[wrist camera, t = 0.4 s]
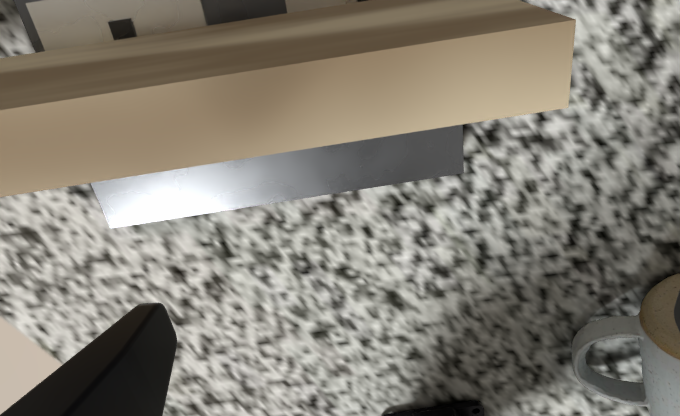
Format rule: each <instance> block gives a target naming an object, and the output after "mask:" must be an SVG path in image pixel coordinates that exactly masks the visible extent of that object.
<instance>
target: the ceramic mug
mask: <svg viewBox="0 0 680 416" xmlns="http://www.w3.org/2000/svg"><path fill="white" fill-rule="evenodd" d="M679 290H680V273H678V274H675V275H673V276H670V277H668V278H666V279H665V280H663V281H661V282H660V283H658V284H657V285H655V286H654V287H653V288H652V289H651V290H650V291H649V292H648V293H647V295H646V296H645V298H644V299H643V302H642V305H641V310H640V312H639V314H638V315H636V316H611V317H607V318H603V319H599V320H594V321H592V322H590V323H588V324H586V325H585V326H584V327H582V328H581V329H580V330H579V331H578V332H577V334H576V335H575V337H574V339H573V341H572V365H573V371H574V373H575V375H576V377H577V379H578V380H579V382H580V383H581V384H582V385H583V386H584V387H586V388H587V389H589V390H590V391H592V392H594V393H595V394H598V395H600V396H602V397H604V398H607V399H610V400H613V401H617V402H620V403H624V404H629V405H637V406H645V407H648V410H649V412H650V414H651V416H680V332H679V330H678V327H677V325H676V322H675V319H674V306H675V303H676V300H677V297H678V293H679ZM632 337H637V338H638V340H639V346H640V355H641V358H642V375H643V383H638V382H629V381H621V380H617V379H613V378H609V377H606V376H603V375H601V374H599V373H597V372H595V371H594V370H592V369H590V368H589V367H588V365H587V364H586V355H585V354H586V352H587V351H588V349H589V348H590V345H592V344H593V343H596V342H599V341H602V340H606V339H614V338H632Z"/></svg>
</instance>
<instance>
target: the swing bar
mask: <svg viewBox="0 0 680 416" xmlns="http://www.w3.org/2000/svg"><path fill="white" fill-rule="evenodd" d="M575 23H576V20H575V19H572V18H569V17H566V16H563V15H561V14H558V13H555V12H552V11H549V10H546V9H543V8H540V7H537V6H534V5H531V4H528V3H526V2H523V1H520V0H368V1H362V2H356V3H349V4H343V5H337V6H330V7H324V8H317V9H311V10H305V11H298V12H292V13H286V14H279V15H273V16H267V17H260V18H254V19H248V20H241V21H235V22H228V23H222V24H216V25H209V26H203V27H197V28H190V29H184V30H178V31H171V32H165V33H158V34H152V35H146V36H139V37H133V38H127V39H120V40H114V41H108V42H101V43H95V44H89V45H82V46H76V47H69V48H63V49H57V50H50V51H44V52H38V53H31V54H25V55H19V56H12V57H6V58H0V197H4V196H10V195H16V194H23V193H29V192H36V191H42V190H48V189H55V188H61V187H67V186H74V185H80V184H86V183H93V182H99V181H105V180H112V179H118V178H125V177H131V176H137V175H144V174H150V173H156V172H163V171H169V170H175V169H182V168H188V167H194V166H201V165H207V164H214V163H220V162H226V161H233V160H239V159H245V158H252V157H258V156H264V155H271V154H277V153H284V152H290V151H296V150H303V149H309V148H315V147H322V146H328V145H334V144H341V143H347V142H353V141H360V140H366V139H373V138H379V137H385V136H392V135H398V134H404V133H411V132H417V131H423V130H430V129H436V128H442V127H449V126H455V125H462V124H468V123H474V122H481V121H487V120H493V119H500V118H506V117H512V116H519V115H525V114H531V113H538V112H544V111H551V110H557V109H563V108H568V104H569V93H570V81H571V69H572V58H573V46H574V35H575Z"/></svg>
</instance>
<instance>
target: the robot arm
mask: <svg viewBox="0 0 680 416" xmlns="http://www.w3.org/2000/svg"><path fill="white" fill-rule="evenodd" d="M674 319H675V322H676V325H677V327H678V330H679V332H680V290H679V293H678V297H677V300H676V303H675V306H674ZM176 347H177V337H176V333H175V330H174V328H173V325H172V323H171V320H170V318H169V315H168V313H167V310H166V308H165V306H164V305H163V304H161V303H145V304H139V305H138V306H136V307H135V308H133V309H132V310H131V311H130V312H128V313H127V314H126V315H125V316H123V317H122V318H121V319H120V320H118V321H117V322H116V323H115V324H113V325H112V326H111V327H110V328H108V329H107V330H106V331H105V332H103V333H102V334H101V335H100V336H98V337H97V338H96V339H95V340H93V341H92V342H91V343H90V344H88V345H87V346H86V347H85V348H83V349H82V350H81V351H80V352H78V353H77V354H76V355H75V356H73V357H72V358H71V359H70V360H68V361H67V362H66V363H65V364H63V365H62V366H61V367H60V368H58V369H57V370H56V371H55V372H53V373H52V374H51V375H49V376H48V377H47V378H46V379H45V380H43V381H42V382H41V383H39V384H38V385H37V386H36V387H34V388H33V389H32V390H31V391H29V392H28V393H27V394H26V395H24V396H23V397H22V398H21V399H20V400H18V401H17V402H16V403H14V404H13V405H12V406H11V407H10V408H8V409H7V410H6V411H4V412H3V413H2V414H1V415H0V416H162V415H163V410H164V405H165V401H166V396H167V391H168V386H169V381H170V377H171V372H172V367H173V362H174V357H175V352H176ZM384 416H484V408H483V406H482V403H481V402H480V401H468V402H462V403H455V404H449V405H443V406H436V407H430V408H424V409H417V410H411V411H404V412H398V413H392V414H387V415H384Z"/></svg>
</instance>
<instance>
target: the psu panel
mask: <svg viewBox="0 0 680 416" xmlns="http://www.w3.org/2000/svg"><path fill="white" fill-rule="evenodd" d="M362 1H368V0H14V2H15V5H16V7H17V9H18V12H19V14H20V16H21V19H22V21H23V23H24V26H25V28H26V31H27V33H28V35H29V38H30V40H31V42H32V45H33V47H34V50H35V52H36V53H38V52H44V51H50V50H57V49H63V48H69V47H76V46H82V45H89V44H95V43H101V42H108V41H114V40H120V39H127V38H133V37H139V36H146V35H152V34H158V33H165V32H171V31H178V30H184V29H190V28H197V27H203V26H209V25H216V24H222V23H228V22H235V21H241V20H248V19H254V18H260V17H267V16H273V15H279V14H286V13H292V12H298V11H305V10H311V9H317V8H324V7H330V6H337V5H343V4H349V3H356V2H362ZM461 173H464V167H463V124H462V125H455V126H449V127H442V128H436V129H430V130H423V131H417V132H411V133H404V134H398V135H392V136H385V137H379V138H373V139H366V140H360V141H353V142H347V143H341V144H334V145H328V146H322V147H315V148H309V149H303V150H296V151H290V152H284V153H277V154H271V155H264V156H258V157H252V158H245V159H239V160H233V161H226V162H220V163H214V164H207V165H201V166H194V167H188V168H182V169H175V170H169V171H163V172H156V173H150V174H144V175H137V176H131V177H125V178H118V179H112V180H105V181H99V182H93V183H91V185H92V187H93V189H94V192H95V194H96V196H97V199H98V201H99V204H100V206H101V208H102V211H103V213H104V215H105V218H106V220H107V222H108V225H109V227H110V229H111V228H118V227H124V226H130V225H137V224H143V223H149V222H156V221H162V220H169V219H175V218H181V217H188V216H194V215H200V214H207V213H213V212H219V211H226V210H232V209H238V208H245V207H251V206H258V205H264V204H270V203H277V202H283V201H289V200H296V199H302V198H308V197H315V196H321V195H328V194H334V193H340V192H347V191H353V190H359V189H366V188H372V187H378V186H385V185H391V184H397V183H404V182H410V181H417V180H423V179H429V178H436V177H442V176H448V175H455V174H461Z"/></svg>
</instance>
